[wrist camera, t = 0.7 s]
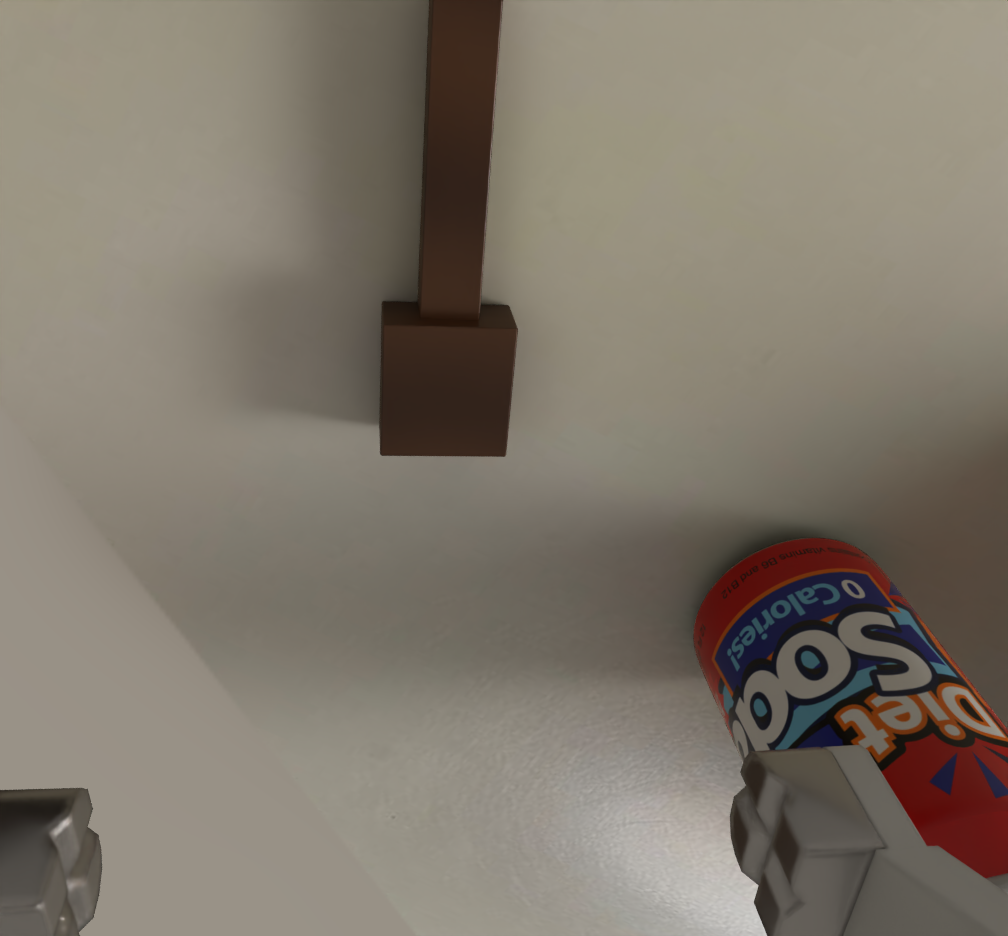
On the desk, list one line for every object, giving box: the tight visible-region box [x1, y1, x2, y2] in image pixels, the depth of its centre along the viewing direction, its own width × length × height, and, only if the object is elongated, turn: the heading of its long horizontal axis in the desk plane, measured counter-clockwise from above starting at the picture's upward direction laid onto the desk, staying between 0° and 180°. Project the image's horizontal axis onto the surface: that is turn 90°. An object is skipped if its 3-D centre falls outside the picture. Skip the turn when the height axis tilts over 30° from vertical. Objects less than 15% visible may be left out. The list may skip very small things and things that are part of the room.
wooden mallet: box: [379, 0, 518, 457], centre depth 28 cm, size 13×4×2 cm, turn 175°
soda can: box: [693, 538, 1008, 894], centre depth 32 cm, size 8×8×15 cm
